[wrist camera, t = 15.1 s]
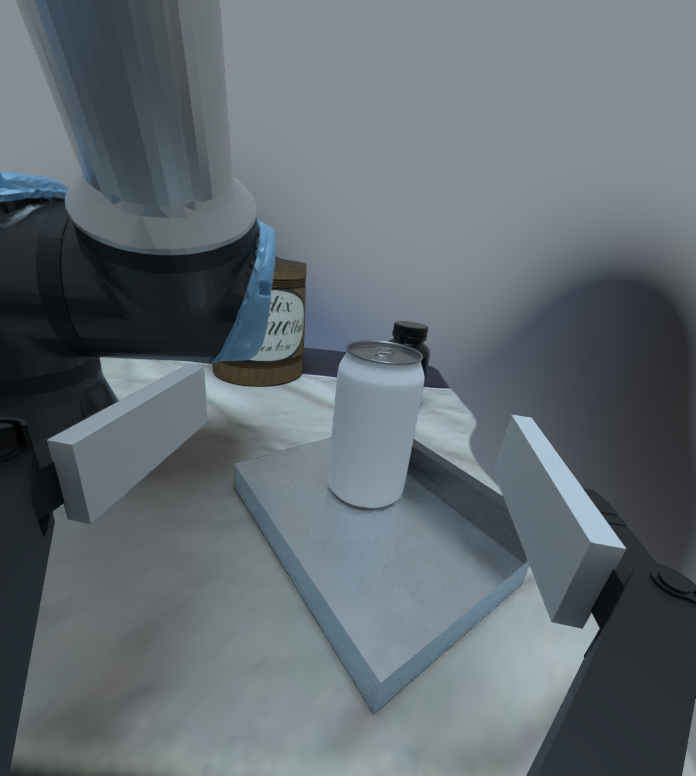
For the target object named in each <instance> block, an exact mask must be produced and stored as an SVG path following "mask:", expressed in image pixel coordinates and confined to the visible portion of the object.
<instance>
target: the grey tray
mask: <svg viewBox="0 0 696 776" xmlns="http://www.w3.org/2000/svg"><path fill="white" fill-rule="evenodd" d="M330 448H331V438H327V439H324V440H320V441H316V442H312V443H309V444H305V445H301V446H298V447H294V448H290V449H286V450H283V451H279V452H275V453H272V454H268V455H264V456H260V457H257V458H253V459H249V460H246V461H242V462H238V463H234V487H235V489H236V490H237V492H238V493H239V495H240V497H241V498H242V500H243V502H244V503H245V505H246V506H247V508H248V510H249V511H250V513H251V515H252V516H253V518H254V519H255V521H256V523H257V524H258V526H259V528H260V529H261V531H262V532H263V534H264V536H265V537H266V539H267V541H268V542H269V544H270V546H271V547H272V549H273V550H274V552H275V554H276V555H277V557H278V559H279V560H280V562H281V563H282V565H283V567H284V568H285V570H286V572H287V573H288V575H289V576H290V578H291V580H292V581H293V583H294V585H295V586H296V588H297V590H298V591H299V593H300V594H301V596H302V598H303V599H304V601H305V603H306V604H307V606H308V607H309V609H310V611H311V612H312V614H313V616H314V617H315V619H316V620H317V622H318V624H319V625H320V627H321V629H322V630H323V632H324V633H325V635H326V637H327V638H328V640H329V642H330V643H331V645H332V647H333V648H334V650H335V651H336V653H337V655H338V656H339V658H340V660H341V661H342V663H343V664H344V666H345V668H346V669H347V671H348V673H349V674H350V676H351V677H352V679H353V681H354V682H355V684H356V686H357V687H358V689H359V690H360V692H361V694H362V695H363V697H364V699H365V700H366V702H367V704H368V705H369V707H370V708H371V710H372V712H373V713H376V712H377V711H378V710H379V709H380V708H381V707H382V706H383V705H385V704H386V703H387V702H388V701H389V700H390V699H391V698H393V697H394V696H395V695H396V694H397V693H398V692H399V691H401V690H402V689H403V688H404V687H405V686H406V685H407V684H408V683H410V682H411V681H412V680H413V679H414V678H415V677H416V676H418V675H419V674H420V673H421V672H422V671H423V670H424V669H426V668H427V667H428V666H429V665H430V664H431V663H432V662H434V661H435V660H436V659H437V658H438V657H439V656H440V655H441V654H443V653H444V652H445V651H446V650H447V649H448V648H449V647H451V646H452V645H453V644H454V643H455V642H456V641H457V640H459V639H460V638H461V637H462V636H463V635H464V634H465V633H466V632H468V631H469V630H470V629H471V628H472V627H473V626H474V625H476V624H477V623H478V622H479V621H480V620H481V619H482V618H484V617H485V616H486V615H487V614H488V613H489V612H490V611H491V610H493V609H494V608H495V607H496V606H497V605H498V604H499V603H501V602H502V601H503V600H504V599H505V598H506V597H507V596H509V595H510V594H511V593H512V592H513V591H514V590H515V589H516V588H518V587H519V586H520V585H521V584H522V583H523V580H524V578H525V575H526V573H527V570H528V568H529V562H528V559H527V557H526V554H525V552H524V549H523V546H522V544H521V541H520V539H519V536H518V533H517V531H516V528H515V526H514V523H513V520H512V518H511V515H510V513H509V510H508V507H507V505H506V502H505V500H504V497H503V496H501V495H500V494H498V493H497V492H495V491H494V490H492V489H490V488H489V487H487V486H486V485H484V484H483V483H481V482H480V481H478V480H477V479H475V478H473V477H472V476H470V475H469V474H467V473H466V472H464V471H463V470H461V469H459V468H458V467H456V466H455V465H453V464H452V463H450V462H449V461H447V460H446V459H444V458H442V457H441V456H439V455H438V454H436V453H435V452H433V451H432V450H430V449H428V448H427V447H425V446H424V445H422V444H421V443H419V442H418V441H416V440H415V439H413V444H412V449H411V454H410V459H409V465H408V470H407V475H406V480H405V484H404V489H403V493H402V495H401V496H400V498H399V499H398V500H397V501H395V502H394V503H392V504H390V505H389V506H386V507H383V508H379V509H364V508H358V507H354V506H351V505H349V504H347V503H345V502H343V501H342V500H341V499H339V498H338V497H337V496H336V495H335V494H334V492H333V491H332V490H331V488H330V486H329V483H328V472H329V460H330Z"/></svg>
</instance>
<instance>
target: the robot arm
mask: <svg viewBox="0 0 696 776" xmlns="http://www.w3.org/2000/svg"><path fill="white" fill-rule="evenodd" d="M16 2H17V4H18V7H19V10H20V12H21V15H22V17H23V20H24V23H25V25H26V28H27V31H28V33H29V36H30V38H31V41H32V43H33V46H34V49H35V52H36V54H37V57H38V59H39V62H40V65H41V67H42V70H43V72H44V75H45V78H46V80H47V83H48V85H49V88H50V91H51V93H52V96H53V98H54V101H55V104H56V106H57V109H58V112H59V114H60V117H61V119H62V122H63V125H64V127H65V130H66V132H67V135H68V138H69V140H70V143H71V146H72V148H73V151H74V153H75V156H76V159H77V161H78V164H79V166H80V169H81V172H80V174H79V175H78V177H77V178H76V179H75V181H74V182H73V183H72V185H71V186H70V187H68V186H66V185H65V184H64V183H63V182H60V181H58V180H54V179H50V178H46V177H41V176H34V175H28V174H20V173H12V172H0V776H9V773H10V767H11V762H12V756H13V751H14V745H15V740H16V734H17V728H18V723H19V717H20V712H21V706H22V701H23V695H24V690H25V684H26V679H27V673H28V668H29V662H30V656H31V651H32V645H33V640H34V634H35V629H36V623H37V618H38V612H39V607H40V601H41V596H42V590H43V584H44V579H45V573H46V568H47V562H48V557H49V551H50V546H51V540H52V535H53V529H54V524H55V520H54V516H53V511H54V510H55V509H57V508H58V507H59V506H61V505H62V504H63V503H64V506H65V510H66V514H67V518H68V519H70V520H74V521H79V522H84V523H88V524H92V523H93V522H94V521H95V520H96V519H97V518H99V517H100V516H101V515H102V514H103V513H104V512H105V511H107V510H108V509H109V508H110V507H111V506H112V505H113V504H114V503H116V502H117V501H118V500H119V499H120V498H121V497H122V496H124V495H125V494H126V493H127V492H128V491H129V490H130V489H132V488H133V487H134V486H135V485H136V484H137V483H138V482H140V481H141V480H142V479H143V478H144V477H145V476H146V475H148V474H149V473H150V472H151V471H152V470H153V469H154V468H155V467H157V466H158V465H159V464H160V463H161V462H162V461H163V460H165V459H166V458H167V457H168V456H169V455H170V454H171V453H173V452H174V451H175V450H176V449H177V448H178V447H179V446H181V445H182V444H183V443H184V442H185V441H186V440H187V439H188V438H190V437H191V436H192V435H193V434H194V433H195V432H196V431H198V430H199V429H200V428H201V427H202V426H203V425H204V424H206V423H207V408H206V392H205V375H204V367H202V366H195V365H189V364H187V365H185V366H184V367H182V368H180V369H178V370H176V371H174V372H172V373H171V374H169V375H167V376H165V377H163V378H161V379H159V380H158V381H156V382H154V383H152V384H150V385H148V386H146V387H145V388H143V389H141V390H139V391H137V392H135V393H133V394H132V395H130V396H128V397H126V398H124V399H122V400H120V401H119V400H118V399H117V397H116V395H115V394H114V392H113V391H112V389H111V387H110V386H109V384H108V382H107V381H106V379H105V377H104V376H103V373H102V368H101V363H100V357H108V358H130V359H152V360H174V361H196V362H210V363H217V362H219V361H240V360H248V359H251V358H253V357H254V356H256V355H257V354H258V352H259V351H260V349H261V347H262V345H263V342H264V338H265V334H266V328H267V323H268V317H269V310H270V303H271V289H272V282H273V277H274V268H275V255H276V253H275V252H276V235H275V231H274V229H273V228H272V227H270V226H268V225H265V224H264V223H262V222H261V221H258V222H256V221H257V220H256V205H255V201H254V199H253V197H252V195H251V194H250V192H249V191H248V190H247V189H246V188H245V187H244V186H243V185H242V184H241V183H240V182H239V181H238V180H237V179H236V178H235V177H234V176H233V175H232V166H231V152H230V137H229V124H228V109H227V96H226V81H225V66H224V52H223V40H222V39H223V38H222V24H221V10H220V0H16ZM494 473H495V476H496V479H497V481H498V484H499V486H500V489H501V492H502V494H503V497H504V500H505V502H506V505H507V507H508V510H509V513H510V515H511V518H512V520H513V523H514V526H515V528H516V531H517V533H518V536H519V539H520V541H521V544H522V546H523V549H524V552H525V554H526V557H527V559H528V562H529V565H530V567H531V570H532V573H533V575H534V578H535V580H536V583H537V586H538V588H539V591H540V593H541V596H542V599H543V601H544V604H545V606H546V609H547V612H548V614H549V617H550V619H551V622H554V623H558V624H563V625H568V626H573V627H577V628H582V629H583V627H584V625H585V624H586V622H587V620H588V618H589V616H590V614H591V613H592V614H593V616H594V618H595V620H596V622H597V624H598V626H599V628H600V629H599V631H598V632H597V634H596V636H595V638H594V639H593V641H592V643H591V644H590V646H589V648H588V650H587V651H586V653H585V655H584V657H585V658H584V660H583V662H582V664H581V666H580V668H579V670H578V672H577V674H576V676H575V678H574V680H573V682H572V684H571V686H570V688H569V690H568V692H567V694H566V696H565V699H564V701H563V703H562V705H561V707H560V709H559V711H558V713H557V715H556V717H555V719H554V721H553V723H552V725H551V727H550V729H549V731H548V733H547V735H546V737H545V739H544V741H543V743H542V745H541V747H540V749H539V751H538V753H537V755H536V757H535V759H534V761H533V764H532V766H531V768H530V770H529V772H528V774H527V776H682V772H683V767H684V761H685V755H686V750H687V744H688V737H689V732H690V727H691V721H692V715H693V709H694V704H695V698H696V585H695V584H694V583H693V582H692V581H691V580H690V579H688V578H687V577H685V576H683V575H682V574H680V573H679V572H678V571H676V570H673V569H671V568H669V567H667V566H665V565H663V564H659V563H656V562H655V560H654V559H653V558H652V557H651V555H650V554H649V553H648V552H647V550H646V549H645V548H644V547H643V545H642V544H641V543H640V542H639V540H638V539H637V538H636V536H635V535H634V534H633V533H632V531H631V530H630V529H629V528H627V525H626V524H625V522H624V521H623V520H622V519H621V518H620V517H618V514H617V512H616V511H615V510H614V508H613V507H612V506H611V505H610V503H609V502H608V501H606V500H605V499H604V498H603V497H601V496H600V495H599V494H597V493H596V492H595V491H594V490H590V489H584V488H582V487H581V486H580V484H579V483H578V481H577V480H576V479H575V477H574V476H573V474H572V473H571V472H570V470H569V469H568V468H567V466H566V465H565V463H564V462H563V461H562V459H561V458H560V457H559V455H558V454H557V453H556V451H555V450H554V449H553V447H552V445H551V444H550V443H549V441H548V440H547V439H546V437H545V436H544V434H543V433H542V432H541V430H540V429H539V428H538V426H537V425H536V423H535V422H534V421H533V419H532V418H529V417H523V416H517V415H511V419H510V422H509V425H508V428H507V431H506V434H505V437H504V441H503V444H502V447H501V450H500V454H499V456H498V460H497V463H496V466H495V469H494Z"/></svg>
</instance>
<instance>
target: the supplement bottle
mask: <svg viewBox="0 0 696 776" xmlns="http://www.w3.org/2000/svg"><path fill="white" fill-rule="evenodd" d="M427 332H428V326H426V325H423V324H419V323H415V322H408V321H397V322H395V323H394V329H393V332H392V335H393V336H394V337H393V339H391V340H389V341H387V342H392V343H397V344H401V345H405V346H408V347H411V348H413V349H415V350H417V351H419V352H420V353H421V354H422V355H423V359H422V360H421V365H422V369H423V372H424V383H425V378H426V373H427V368H428V363H429V358H430V350H429V348H428V347H427V345H425V344H424V341H426V340H427ZM423 387H424V386H423ZM422 392H423V391H422Z"/></svg>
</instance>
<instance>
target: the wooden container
mask: <svg viewBox="0 0 696 776" xmlns="http://www.w3.org/2000/svg"><path fill="white" fill-rule="evenodd" d="M305 278H306V264H305V263H302V262H297V261H290V260H284V259H281V258H278V257H276V256H275V268H274V277H273V282H272V289H271V303H270V310H269V317H268V323H267V328H266V334H265V338H264V342H263V345H262V347H261V349H260V351H259V352H258V354H257V355H256V356H254V357H253V358H251V359H248V360H240V361H219V362H217V363H213V372H214V374H215V375H216V376H217V377H218V378H220V379H222V380H224V381H227V382H230V383H234V384H239V385H247V386H272V385H279V384H283V383H287V382H290V381H293V380H295V379H297V378H298V377H299V376H300V375H301V374H302V365H303V350H304V331H305V291H306V289H305V288H306V286H305V282H306V281H305V280H306V279H305Z"/></svg>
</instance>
